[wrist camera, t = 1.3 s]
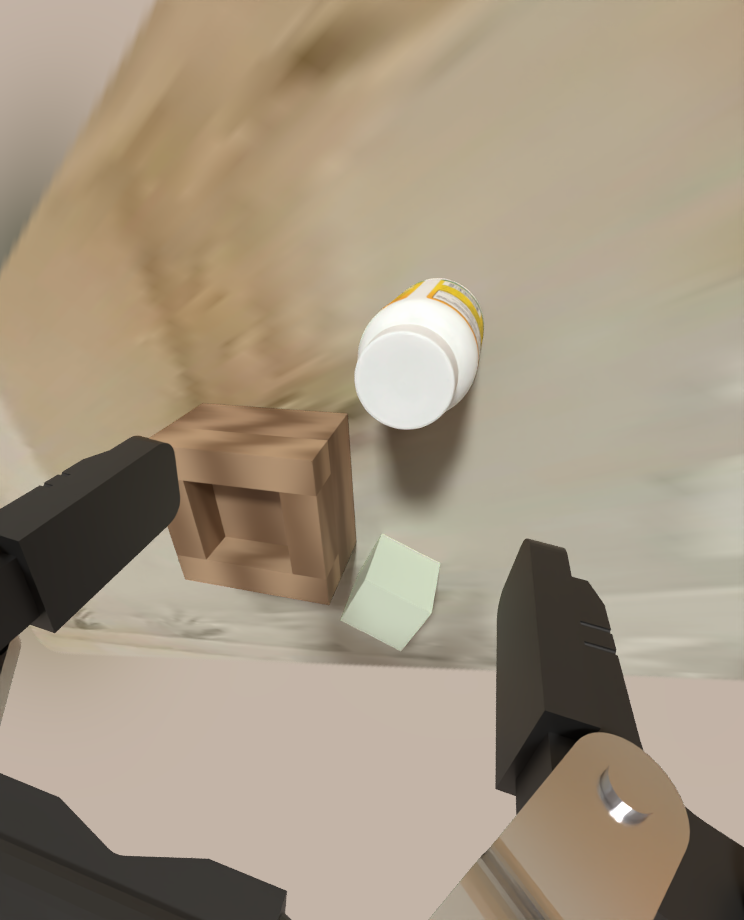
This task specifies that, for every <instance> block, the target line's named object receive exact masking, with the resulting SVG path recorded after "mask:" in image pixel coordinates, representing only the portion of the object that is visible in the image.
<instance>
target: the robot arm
mask: <svg viewBox="0 0 744 920" xmlns="http://www.w3.org/2000/svg"><path fill="white" fill-rule="evenodd" d="M179 506H180V491H179V483H178V475H177V467H176V459H175V452H174V449H173V447H172V446H171V445H170V444H168V443H165V442H161V441H157V440H153V439H149V438H146V437H142V436H133V437H131V438H129V439H127V440H126V441H124V442H123V443H121V444H119V445H118V446H116V447H114V448H113V449H111V450H110V451H107V452H104V453H101V454H98V455H95V456H92V457H89V458H86V459H83V460H81V461H80V462H78V463H76V464H75V465H73V466H71V467H70V468H68V469H66V470H65V471H63V472H62V475H56V476H55V477H53V478H51V479H50V480H48V481H46V482H45V483H44V486H38V487H36V488H35V489H33V490H31V491H30V492H28V493H26V494H25V495H23V496H21V497H20V498H18V499H16V500H15V501H13V502H11V503H10V504H8V505H6V506H5V507H3V508H1V509H0V724H1V720H2V717H3V713H4V709H5V705H6V702H7V698H8V694H9V690H10V686H11V683H12V679H13V675H14V671H15V667H16V664H17V660H18V656H19V652H20V648H21V639H20V636H19V634H20V633H21V632H22V631H23V630H24V629H26V628H27V627H28V626H29V625H33V626H36V627H39V628H41V629H44V630H47V631H50V632H53V633H56V632H57V631H58V630H59V629H60V628H61V627H62V626H63V625H64V624H65V623H66V622H67V621H68V620H69V619H70V618H71V617H72V616H73V615H74V614H76V613H77V612H78V611H79V610H80V609H81V608H82V607H83V606H84V605H85V604H86V603H87V602H88V601H89V600H90V599H91V598H92V597H93V596H94V595H95V594H97V593H98V592H99V591H100V590H101V589H102V588H103V587H104V586H105V585H106V584H107V583H108V582H109V581H110V580H111V579H112V578H113V577H114V576H115V575H117V574H118V573H119V572H120V571H121V570H122V569H123V568H124V567H125V566H126V565H127V564H128V563H129V562H130V561H131V560H132V559H133V558H134V557H135V556H136V555H138V554H139V553H140V552H141V551H142V550H143V549H144V548H145V547H146V546H147V545H148V544H149V543H150V542H151V541H152V540H153V539H154V538H155V537H156V536H158V535H159V534H160V533H161V532H162V531H163V530H164V529H165V528H166V527H167V526H168V525H169V524H170V523H171V522H172V521H173V519H174V518H175V516H176V514H177V512H178V509H179ZM610 630H611V628H610V624H609V621H608V617H607V613H606V609H605V605H604V604H603V602H602V601H601V599H600V598H599V596H598V595H597V594H596V592H595V591H594V589H593V588H592V586H591V585H590V584H589V582H588V581H586V580H582V579H578V578H574V577H572V576H571V571H570V566H569V561H568V555H567V552H566V550H565V549H564V548H562V547H558V546H554V545H550V544H546V543H543V542H539V541H535V540H531V539H525V540H524V541H523V543H522V545H521V547H520V550H519V552H518V555H517V557H516V559H515V562H514V564H513V566H512V569H511V571H510V574H509V576H508V578H507V581H506V583H505V586H504V588H503V591H502V594H501V597H500V601H499V606H498V613H497V674H496V677H497V678H496V789H498V790H500V791H503V792H506V793H509V794H512V795H514V796H516V816H515V818H514V819H513V820H512V821H511V823H510V824H509V825H508V826H507V827H506V829H505V830H504V831H503V832H502V834H501V835H500V836H499V837H498V839H497V840H496V841H495V842H494V843H493V844H492V846H491V847H490V848H489V849H488V850H487V851H486V852H485V853H484V854H483V855H482V856H481V857H480V858H479V859H478V861H477V862H476V863H475V864H474V866H472V868H471V869H470V870H469V871H468V872H467V874H466V875H465V876H464V877H463V878H462V880H461V881H460V882H459V883H458V884H457V886H456V887H455V888H454V889H453V891H452V892H451V893H450V894H449V895H448V897H447V898H446V899H445V900H444V901H443V903H442V904H441V905H440V906H439V907H438V909H437V910H436V911H435V912H434V914H433V915H432V916H431V917H430V918H429V920H744V847H742V846H741V845H739V844H738V843H736V842H735V841H733V840H732V839H730V838H728V837H727V836H726V835H724V834H722V833H721V832H719V831H718V830H716V829H715V828H713V827H712V826H710V825H709V824H707V823H706V822H704V821H703V820H701V819H700V818H699V817H697V816H696V815H694V814H693V813H692V812H691V811H690V810H689V809H687V808H686V807H685V806H684V804H683V801H682V799H681V796H680V795H679V793H678V791H677V790H676V787H675V786H674V784H673V783H672V781H671V780H670V778H669V777H668V775H667V774H666V773H665V772H664V771H663V769H662V768H661V767H660V766H659V765H658V764H657V763H656V762H655V761H654V760H653V759H652V758H651V757H650V756H649V755H648V754H646V753H645V752H644V751H643V748H642V745H641V742H640V738H639V734H638V731H637V727H636V723H635V719H634V715H633V712H632V708H631V704H630V700H629V696H628V693H627V689H626V685H625V681H624V678H623V674H622V670H621V666H620V662H619V658H618V656H617V655H616V647H615V643H614V639H613V636H612V634H610ZM286 895H287V891H286V890H283V889H281V888H278V887H276V886H273V885H271V884H268V883H266V882H264V881H261V880H259V879H256V878H254V877H252V876H249V875H247V874H244V873H242V872H239V871H237V870H234V869H232V868H229V867H227V866H225V865H222V864H220V863H218V862H215V861H212V860H210V859H196V858H169V857H140V856H122V855H118V854H115V853H113V852H112V851H111V850H109V849H108V848H107V847H106V846H105V845H104V843H102V841H101V840H100V839H99V838H98V837H97V836H96V835H95V834H94V833H93V832H92V831H91V830H90V829H89V828H88V827H87V826H86V825H85V824H84V823H83V822H82V820H81V819H80V818H79V817H78V816H77V815H76V814H75V813H74V812H73V811H72V810H71V809H70V808H69V807H68V806H67V805H66V804H65V803H64V802H63V801H62V800H61V799H60V798H59V797H57V796H54V795H52V794H49V793H47V792H45V791H42V790H40V789H37V788H35V787H33V786H30V785H28V784H25V783H23V782H20V781H18V780H15V779H13V778H10V777H8V776H6V775H3V774H1V773H0V920H291V919H290V918H289V917H288V916H287V915H286V914H285V907H286Z"/></svg>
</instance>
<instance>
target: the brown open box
mask: <svg viewBox="0 0 744 920" xmlns="http://www.w3.org/2000/svg"><path fill="white" fill-rule="evenodd" d="M149 439H153V440H157V441H161V442H165V443H168V444H170V445H171V446H172V447H173V449H174V452H175V459H176V467H177V475H178V483H179V491H180V506H179V509H178V512H177V514H176V516H175V518H174V519H173V521H172V522H171V523H170V524H169V525H168V529H169V532H170V535H171V538H172V541H173V544H174V547H175V550H176V553H177V556H178V559H179V562H180V565H181V568H182V571H183V574H184V577H185V579H186V580H192V581H198V582H203V583H209V584H214V585H220V586H225V587H231V588H237V589H242V590H248V591H253V592H259V593H264V594H270V595H276V596H281V597H287V598H292V599H298V600H303V601H309V602H315V603H320V604H326V605H329V604H330V602H331V600H332V597H333V595H334V593H335V590H336V588H337V586H338V583H339V581H340V579H341V576H342V574H343V572H344V570H345V567H346V565H347V563H348V560H349V558H350V556H351V553H352V551H353V549H354V546H355V544H356V530H355V515H354V501H353V486H352V471H351V457H350V442H349V427H348V414H346V413H332V412H317V411H303V410H289V409H275V408H261V407H247V406H232V405H218V404H204V403H202V404H201V405H199V406H198V407H196V408H195V409H193V410H192V411H190V412H188V413H187V414H185V415H184V416H182V417H181V418H179V419H178V420H176V421H175V422H173V423H172V424H170V425H169V426H167V427H165V428H164V429H162V430H161V431H159V432H158V433H156V434H155V435H153V436H152V437H150V438H149Z"/></svg>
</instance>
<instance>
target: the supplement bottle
mask: <svg viewBox="0 0 744 920" xmlns="http://www.w3.org/2000/svg"><path fill="white" fill-rule="evenodd" d="M483 332H484V320H483V315H482V311H481V308H480V305H479V304H478V302H477V300H476V298H475V297H474V296H473V294H472V293H471V292H470V291H469V290H468V289H466V288H465V287H464V286H462V285H461V284H459V283H457V282H454V281H452V280H448V279H443V278H433V279H427V280H423V281H421V282H418V283H416V284H414V285H413V286H411V287H410V288H408V289H407V290H406V291H404V292H403V293H402V294H401V295H399V296H398V297H397V298H396V299H394V300H393V301H392V302H391V303H389V304H388V305H387V306H385V307H384V308H383V309H381V311H379V312H378V313H377V314H376V315H375V316H374V318H373V319H372V320H371V321H370V322H369V324H368V325H367V327H366V329H365V330H364V333H363V335H362V337H361V340H360V344H359V349H358V362H357V365H356V369H355V388H356V391H357V395H358V397H359V399H360V401H361V403H362V405H363V406H364V408H365V409H366V411H367V412H368V413H369V414H370V415H371V416H372V417H373V418H375V419H376V420H378V421H379V422H381V423H382V424H384V425H387V426H389V427H392V428H396V429H403V430H410V429H418V428H421V427H425V426H427V425H429V424H431V423H433V422H434V421H436V420H437V419H438V418H439V417H441V416H442V415H443V413H444V412H446V411H448V410H449V409H451V408H452V407H454V406H455V405H456V404H457V403H459V402H460V401H461V400H462V399H463V397H464V396H465V395H466V394H467V392H468V391H469V389H470V387H471V385H472V383H473V381H474V379H475V375H476V372H477V368H478V362H479V357H480V350H481V344H482V339H483Z"/></svg>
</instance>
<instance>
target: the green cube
mask: <svg viewBox="0 0 744 920" xmlns="http://www.w3.org/2000/svg"><path fill="white" fill-rule="evenodd" d="M439 568H440V563H439V562H437V561H435V560H433V559H431V558H429V557H427V556H425V555H423V554H421V553H419V552H417V551H415V550H413V549H411V548H409V547H407V546H405V545H403V544H402V543H400V542H398V541H396V540H394V539H392V538H390V537H388V536H386V535H384V534H381V536H380V538H379V539H378V541H377V543H376V545H375V546H374V548H373V550H372V551H371V553H370V555H369V556H368V558H367V560H366V561H365V563H364V565H363V566H362V568H361V570H360V572H359V573H358V576H357V578H356V581H355V583H354V586H353V588H352V591H351V594H350V596H349V599H348V601H347V604H346V606H345V609H344V611H343V614H342V617H341V619H340V621H342V622H344V623H346V624H348V625H350V626H352V627H354V628H356V629H358V630H360V631H362V632H364V633H366V634H368V635H370V636H372V637H374V638H376V639H378V640H380V641H381V642H383V643H385V644H387V645H389V646H391V647H393V648H395V649H397V650H399V651H401V650H402V649H403V648H404V647H405V646H406V644H407V643H408V642H409V641H410V639H411V638H412V637H413V636H414V634H415V633H416V632H417V631H418V630H419V628H420V627H421V626H422V625H423V623H424V622H425V621H426V620H427V618H428V617H429V616H430V615H431V613H432V608H433V603H434V597H435V591H436V585H437V579H438V574H439Z"/></svg>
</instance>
